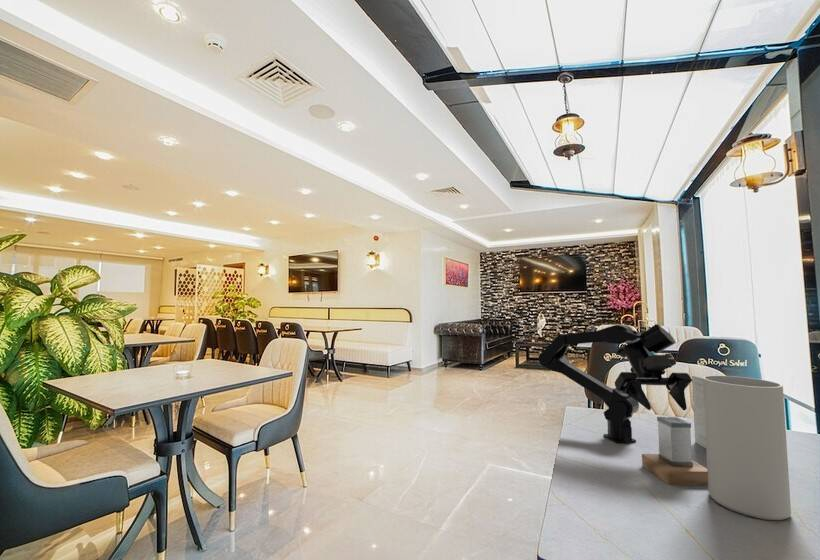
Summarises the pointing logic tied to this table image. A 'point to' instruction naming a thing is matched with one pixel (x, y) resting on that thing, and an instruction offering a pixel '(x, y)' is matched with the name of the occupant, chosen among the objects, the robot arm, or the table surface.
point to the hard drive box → (699, 410)
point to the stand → (675, 471)
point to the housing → (675, 441)
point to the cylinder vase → (747, 446)
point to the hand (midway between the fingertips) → (667, 409)
